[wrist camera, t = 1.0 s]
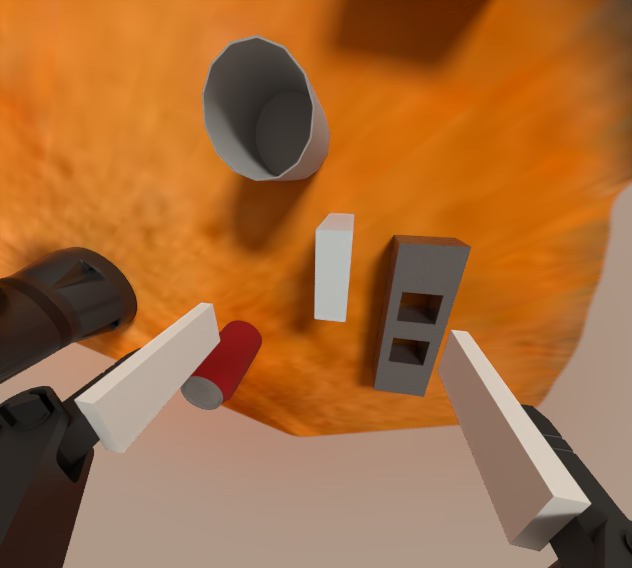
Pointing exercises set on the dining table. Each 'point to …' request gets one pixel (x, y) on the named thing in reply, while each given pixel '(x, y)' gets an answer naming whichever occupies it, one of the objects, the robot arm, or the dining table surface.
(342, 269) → the upright white panel
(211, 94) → the cup
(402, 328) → the block with rectangular holes
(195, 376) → the beverage can
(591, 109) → the dining table surface
